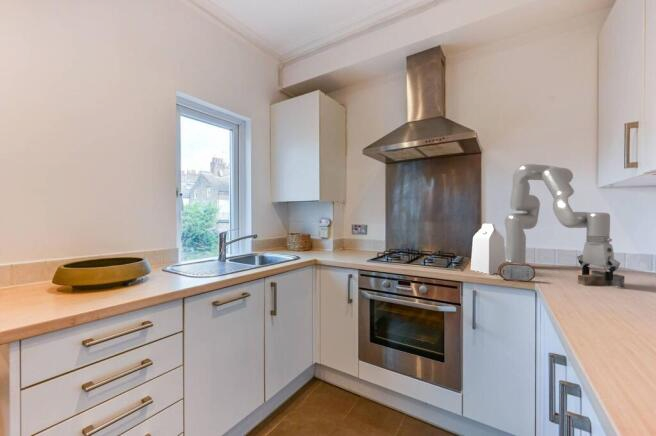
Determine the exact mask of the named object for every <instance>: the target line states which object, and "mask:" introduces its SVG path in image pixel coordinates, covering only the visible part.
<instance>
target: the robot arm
mask: <svg viewBox="0 0 656 436" xmlns="http://www.w3.org/2000/svg"><path fill="white" fill-rule="evenodd" d="M573 179H574V174H573V172H572V170H570V169H569V168H566V167H560V166H554V165H553V166H552V165H547V164H546V165H545V164H536V163H534V164H533V163H528V164H522V165H520V166H518V167H517V168H516V169H515V170H514V172H513V173H512V187H511V194H510V202H509V207H510V209H511V210H512V211H517V212H515V213H510V214H507V216H506V217H505V219H504V225H505V233H506V234H505V235H506V242H505V243H506V246H505V247H506V248H505V250H506V251H505V262H512V263H526V257H527V255H526V253H527V249H526V248H527V244H526V243H527V242H526V241H527V236H526V233H525V231H524V230H532V229H533V228H535V227H536V226H537V224H538V219H539V216H540V215H539V213H540V209H541V208H540V206H541V203H540V199H539V197H537V196H535V195H534V194H530V191H531V185H530V183H529V181H530V180H531V181H543V183H544V184H545V186H546V187H547V189H548V191H549V193H550V195H551V196H552V198H553V202H552V209H553V210H552V211H553V214H554V215H555V217H556V219H557V221H558V222H559V223H560V224H561V225H562V226H563V227H565V228H568V229H569V228H570V229H577V228H578V229H581V228H582V229H585V228H586V237H585V238H586V239H585V240H586V241H584V245H583V252H582V254H580V255H578V256H576V259H577V260H578V263H579V264H580V267H581V270H582V275H589V272H590V270H591V269H590V265H591V266H592V265H593V266H597V267H603V269H605V271H604V272H605V281H612V280H613V273H614V272H616V270H618V269H619V267H620V265H621V263H620V261H617V259H615V254H614V253H615V252H614V248H613V245H612V243H611V242H612V241H613V239H612V238H610V235H611V233H610V232H611V215H610V214H609V212H588V211H587V212H586V211H573V209H572V208H571V206H570V203H569V198H570V197H571V196H573V195H574V193H575V190H574V188H573V186H572V185H571V184H570V182H572V180H573Z"/></svg>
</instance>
